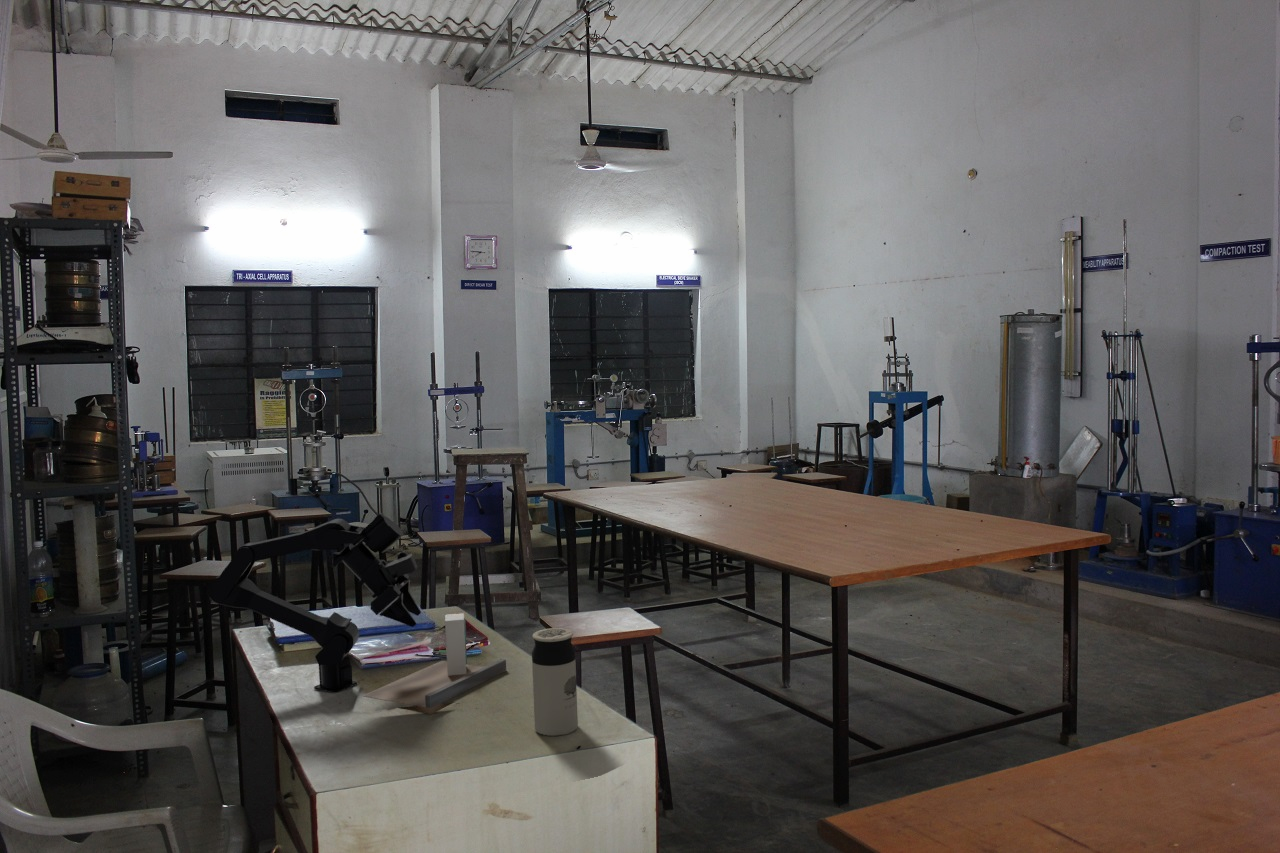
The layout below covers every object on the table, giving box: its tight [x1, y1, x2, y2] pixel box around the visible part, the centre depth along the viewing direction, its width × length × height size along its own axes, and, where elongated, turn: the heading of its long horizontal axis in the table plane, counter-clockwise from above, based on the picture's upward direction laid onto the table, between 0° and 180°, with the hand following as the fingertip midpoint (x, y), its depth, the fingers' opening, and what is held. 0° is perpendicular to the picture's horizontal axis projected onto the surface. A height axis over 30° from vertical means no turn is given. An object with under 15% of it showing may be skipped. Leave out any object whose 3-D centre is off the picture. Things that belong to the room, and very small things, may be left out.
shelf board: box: [362, 658, 507, 715], centre depth 202 cm, size 18×25×4 cm
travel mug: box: [531, 627, 579, 737], centre depth 176 cm, size 8×8×18 cm
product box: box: [444, 612, 468, 676], centre depth 209 cm, size 4×6×12 cm
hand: (417, 619), depth 206 cm, fingers open, 9 cm apart
